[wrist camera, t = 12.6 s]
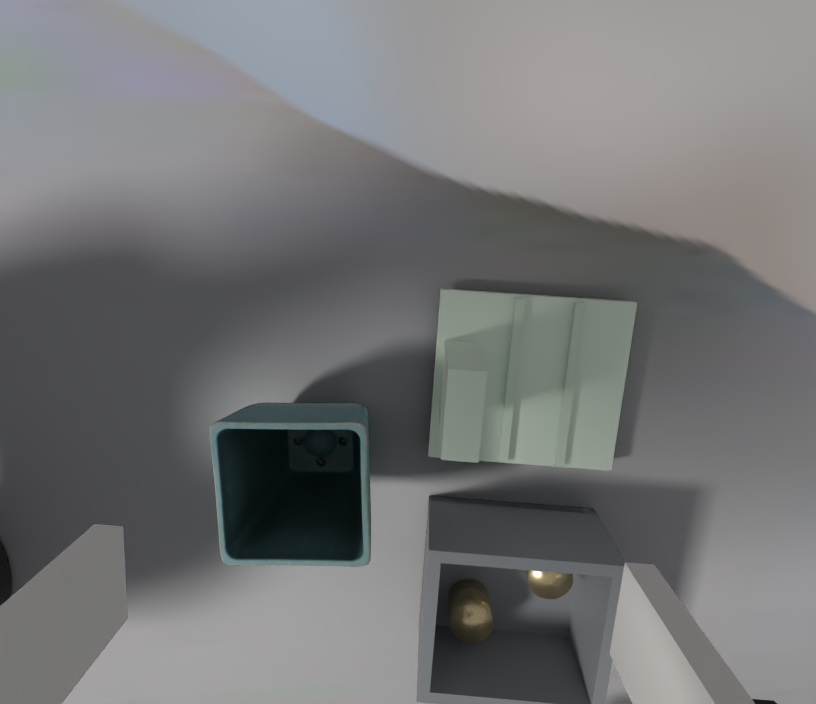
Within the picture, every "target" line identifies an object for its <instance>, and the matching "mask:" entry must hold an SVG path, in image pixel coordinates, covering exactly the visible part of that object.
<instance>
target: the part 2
mask: <svg viewBox="0 0 816 704" xmlns="http://www.w3.org/2000/svg"><path fill="white" fill-rule="evenodd" d="M525 572H526V576H527V580H528V583H529V586H530V588H531V590H532V591H533V593H535V594H536V595H537V596H539V597H541V598H544V599H557V598H560V597H562V596H564V595H565V594H566V593H567V592H568V591H569V590H570V589H571V587H572V584H573V574H568V573H555V572H543V571H531V570H525Z"/></svg>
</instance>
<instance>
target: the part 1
mask: <svg viewBox="0 0 816 704" xmlns="http://www.w3.org/2000/svg"><path fill="white" fill-rule="evenodd" d="M449 616H450V629H451V631H452V633H453V635H454V636H455V637H456V638H457V639H459V640H460V641H463V642H466V643H478V642H481V641H483V640H485V639H486V638H487V637H488V636H489V635H490V634H491V632H492V630H493V619H492V613H491V606H490V600H489V594H488V590H487V588H486V587H485V586H484V585H483V584H482V583H481V582H480V581H478V580H475V579H462V580H459V581H457V582H456V583H455V584H454V585H453V586H452V587H451V589H450V591H449Z"/></svg>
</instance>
